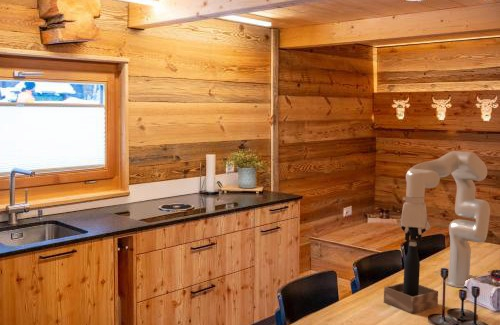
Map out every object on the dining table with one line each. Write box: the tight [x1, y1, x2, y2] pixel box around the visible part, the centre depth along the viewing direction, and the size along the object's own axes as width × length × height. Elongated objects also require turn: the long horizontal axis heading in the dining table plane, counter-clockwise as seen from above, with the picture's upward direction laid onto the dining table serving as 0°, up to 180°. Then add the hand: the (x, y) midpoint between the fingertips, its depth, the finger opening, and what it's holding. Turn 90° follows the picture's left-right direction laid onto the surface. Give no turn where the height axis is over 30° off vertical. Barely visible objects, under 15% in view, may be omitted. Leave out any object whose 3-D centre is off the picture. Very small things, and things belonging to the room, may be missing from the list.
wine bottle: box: [403, 227, 421, 297], centre depth 249 cm, size 6×6×30 cm
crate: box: [383, 282, 439, 315], centre depth 250 cm, size 16×16×7 cm
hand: (413, 242), depth 248 cm, fingers closed on wine bottle, 3 cm apart
